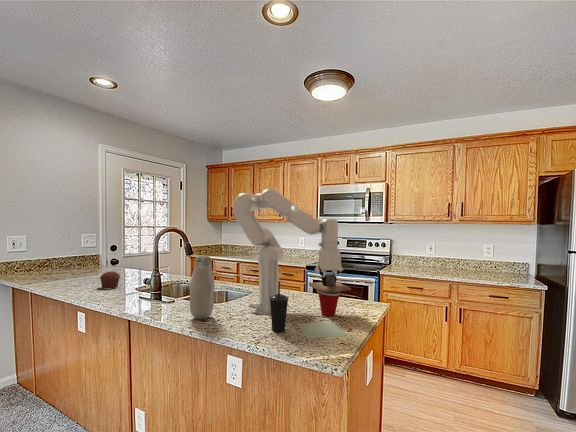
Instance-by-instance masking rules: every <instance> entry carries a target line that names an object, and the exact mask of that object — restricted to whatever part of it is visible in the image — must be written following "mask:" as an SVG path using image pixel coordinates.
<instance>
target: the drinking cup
mask: <svg viewBox="0 0 576 432" xmlns="http://www.w3.org/2000/svg"><path fill="white" fill-rule="evenodd" d="M269 299H270V307H271V315H270V316H271V317H270V319H271V330H272V332H273V333H274V334H275V333H276V334H281V333H284V332H285V330H286V322H287V312H288V302H289V296H287V295H285V294H283V293H281V280H279V281H278V294H275V295H273V296H270V297H269Z"/></svg>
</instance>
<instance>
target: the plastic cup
mask: <svg viewBox="0 0 576 432" xmlns="http://www.w3.org/2000/svg"><path fill="white" fill-rule="evenodd" d="M317 294H318V297H319V298H318V299H319V306H320V312H321V316H323V317H326V318H334V317H335V316H336V311H337V309H338V308H337V307H338V302H339V298H340V296H341V291H328V292H319V291H317Z"/></svg>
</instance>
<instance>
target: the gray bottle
mask: <svg viewBox="0 0 576 432" xmlns="http://www.w3.org/2000/svg"><path fill="white" fill-rule="evenodd" d="M212 261H213V260H212V258H211V256H209V255H205V254H201V255H198V256H196V258H195V259H194V266H193V271H192V275H191V278H190V282H189V312H190V314H191V316H192V317H193V318H195V319H197V320H203V319H207V318H209V317H210V316H211V315H212V313H213V310H214V304H215V303H214V301H215V279H214V278H215V277H214V273H213V267H212V265H213V263H212Z"/></svg>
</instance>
